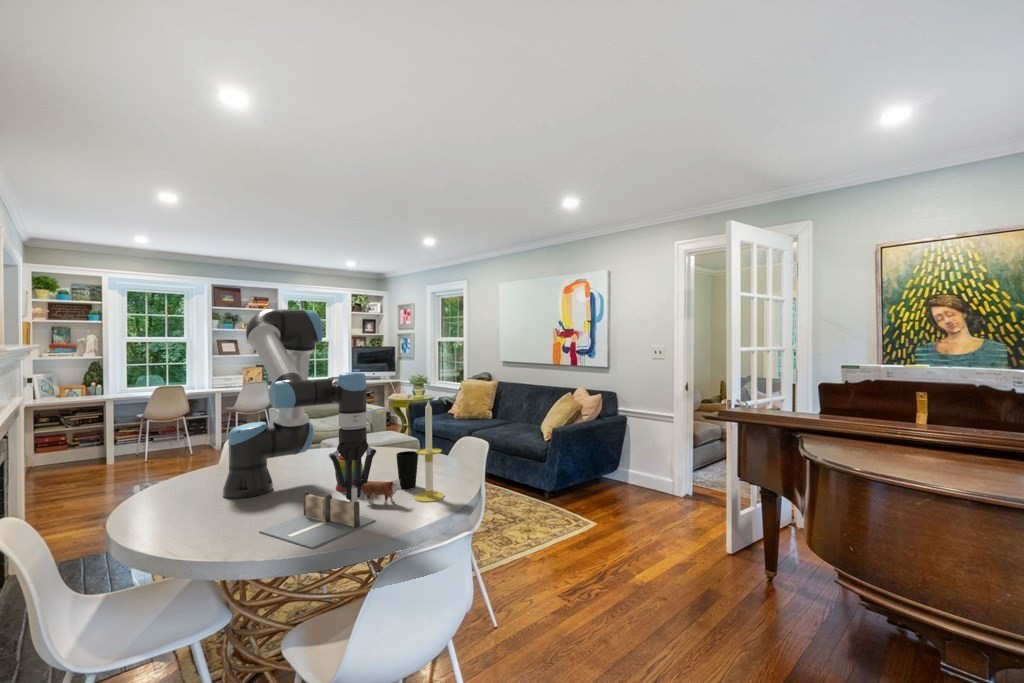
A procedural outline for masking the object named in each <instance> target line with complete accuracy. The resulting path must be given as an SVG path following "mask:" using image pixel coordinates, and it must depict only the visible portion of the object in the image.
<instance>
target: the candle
mask: <svg viewBox="0 0 1024 683" xmlns="http://www.w3.org/2000/svg"><path fill="white" fill-rule="evenodd" d="M430 403H431V402H430V400H429V399H428V400H427V403H426V406H425V407H424V408H425V412H424V413H425V415H424V416H425V420H424V421H425V426H424V427H425V448H420V449H417V450H416V451H415V452H416V453H417V454H418V456H419V455H421V456H424V463H425V464H424V465H425V466H424V472H425V475H424V476H425V477H424V478H425V479H424V480H425V483H424V484H425V489H424V490H425V491H424V492H420V493H418V494H415V496H413V499H414V501H416V502H419V503H433V502H434V501H435V502H438V500H439V501H441V500H443V499H444V498H445V494H444V493H442V492H438V491H434V455H437V454H441V453H442V449H441V448H437V447H434V448H433V409H432V408H433V407H432V405H431V404H430Z"/></svg>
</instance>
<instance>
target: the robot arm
mask: <svg viewBox="0 0 1024 683" xmlns="http://www.w3.org/2000/svg"><path fill="white" fill-rule="evenodd" d="M245 335H246V340H247V342H248V344H249V345H250V347H251V348H253V349H255V350H256V352H257V356H259V358H260V360H261V362H262V365H263V367H264V369H265V371H266V372H267V375H268V377H269V379H270V381H271V384H270V386H269V390H268V397H269V404H270V405H271V407H273V408H274V409H278V414H277V415H276V416H275V417H273V422H272V424H270V425H268V424H267V422H266V421H257V422H254V421H253V422H249V423H244V424H240V425H238V426H235V427H233V428H232V429H231V430H230V431H229V434H228V441H227V445H228V472H227V473H228V474H227V477H226V479H225V481H224V484H223V488H222V496H223V497H225V498H226V499H244V498H245V499H246V498H251V497H256V496H259V495H263V494H266V493H269V492H271V491H272V490H273V489H274V487H273V486H274V484H273V482H274V481H273V479H272V477H271V474H270V472H269V468H268V459H272V458H279V457H285V456H292V455H294V456H295V455H298V454H302V453H305V452H307V451H308V450H310V448H311V446H312V443H313V440H314V426H313V424H312V422H311V421H309V417H307V416H306V415H305V411H306V407H310V406H322V405H333V404H334V405H335V404H336V405H337V404H338V427H339V429H338V445H337V447H336V450H335V451H334V452H331V453H329V455H328V457H329V459H330V460H331V461H332V463H333V467H334V473H335V472H336V476H337V479H338V483H339V485H340V486H341V487H342V488H343V487H344V488H346V492H345V498H346V500H347V501H348V502H352V503H354V502H358V499H360V498H361V496H362V495H361V494H362V492H361V490H362V489H361V487H362V485H363V484H366V483H367V481H369V476H370V473H371V469H372V468H371V467H372V463H373V460H374V457H375V455H376V453H377V450H376V449H375V448H373V447H370V446H369V444H368V441H367V439H368V437H367V435H368V434H367V433H368V432H367V427H366V425H367V387H368V386H367V385H368V384H367V377H366V374H365V373H364V372H342V373H339V375H338V376H337V377H328V378H317V379H308V377H309V370H310V369H309V368H310V358H311V354H312V352H313V351H315V349H316V344H320V343H321V342H322V340H323V337H324V327H323V322H322V319H321V317H320V316H319V314H318V313H317V312H316V311H315V310H307V309H306V310H305V309H287V308H286V309H283V308H282V309H280V308H279V309H277V308H270V309H264V310H262V311H260V312H258V313H256V314H255V315H254V316H253V317H251V319H250V320H249V321H248V324H247V326H246V328H245ZM365 454H366V456H365V460H364V464H363V472H362V477H361V460H362V458H363V456H364V455H365ZM339 455H341V456H342V457H343V458H344V459H345V482H344V478H343V474H342V471H341V467H340V463H339V461H338V459H339ZM352 460H354V479H355V486H352ZM336 476H335V477H336Z"/></svg>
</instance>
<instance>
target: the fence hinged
mask: <svg viewBox="0 0 1024 683" xmlns="http://www.w3.org/2000/svg"><path fill="white" fill-rule="evenodd" d="M360 505H361V504H360V501H357V502H354V503H352V502H349V500H347V501H346V500H344V499H338V498H332V499H331V500H330V519H331V521H333V522H337V523H341V524H345V525H349V526H353V527H360V516H361V515H360V512H361V511H360V510H361V508H360Z"/></svg>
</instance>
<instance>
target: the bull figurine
mask: <svg viewBox="0 0 1024 683" xmlns="http://www.w3.org/2000/svg"><path fill="white" fill-rule="evenodd" d="M400 481H401V480H399V478H398V479H397V478H394V479H389V480H388V479H387V480H383V481H381V480H380V481H379V480H377V481H373V480H368V481H367V483H366V484H363V486H362V488H363V489H362V492H363V496H364V499H365V501H367V502H369V505H371V506H374V505H375V503H374V502H373V500H372V495H375V496H376V497H377V498H379V497H380V496H384V502H383V504H384V506H388V505H389V504H388V500H389V499H390V503H391V504H395V500H394V499H393V497H394V495H395V494H396V492H397V491H400V490H402V489H401V486H400Z"/></svg>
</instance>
